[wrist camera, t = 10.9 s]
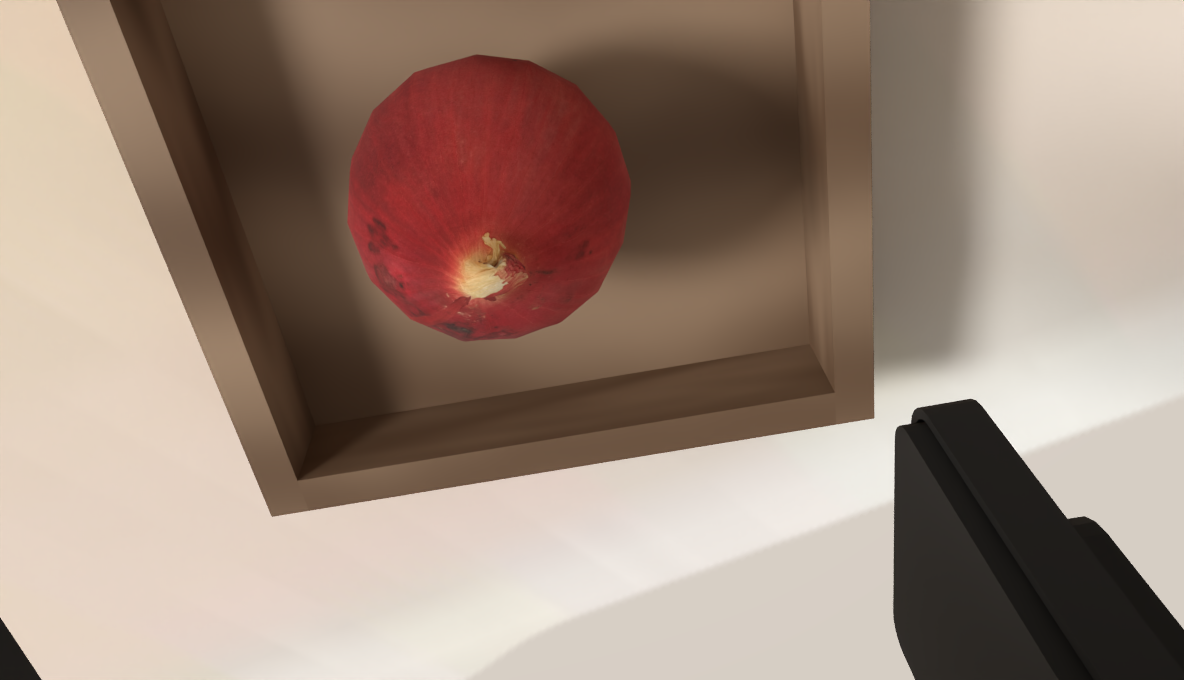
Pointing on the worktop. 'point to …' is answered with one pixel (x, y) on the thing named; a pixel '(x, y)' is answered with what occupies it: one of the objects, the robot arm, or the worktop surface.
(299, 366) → the walnut tray
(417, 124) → the onion
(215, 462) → the worktop surface
